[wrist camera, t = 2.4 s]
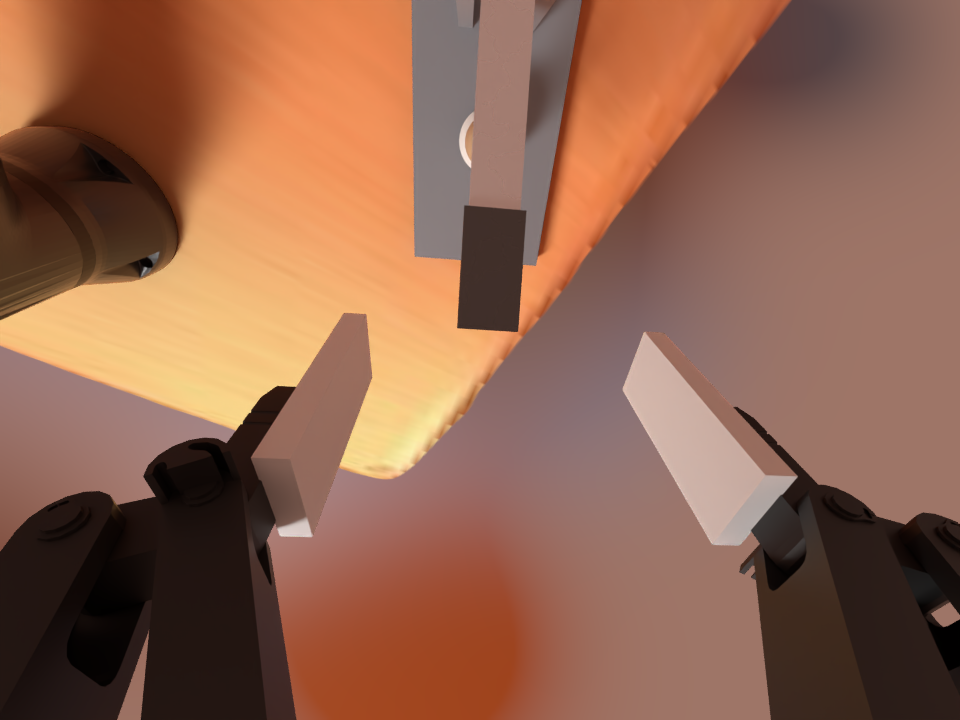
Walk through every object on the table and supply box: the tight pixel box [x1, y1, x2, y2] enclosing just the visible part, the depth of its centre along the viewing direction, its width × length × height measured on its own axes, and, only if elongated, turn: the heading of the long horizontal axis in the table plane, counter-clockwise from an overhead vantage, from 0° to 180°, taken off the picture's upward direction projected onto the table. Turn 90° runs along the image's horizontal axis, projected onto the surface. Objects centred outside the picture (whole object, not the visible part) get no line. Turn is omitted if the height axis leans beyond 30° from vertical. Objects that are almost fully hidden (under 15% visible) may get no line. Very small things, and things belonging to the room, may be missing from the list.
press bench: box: [412, 0, 582, 266], centre depth 31 cm, size 14×26×14 cm, turn 175°
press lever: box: [457, 0, 535, 332], centre depth 22 cm, size 4×23×3 cm, turn 175°
